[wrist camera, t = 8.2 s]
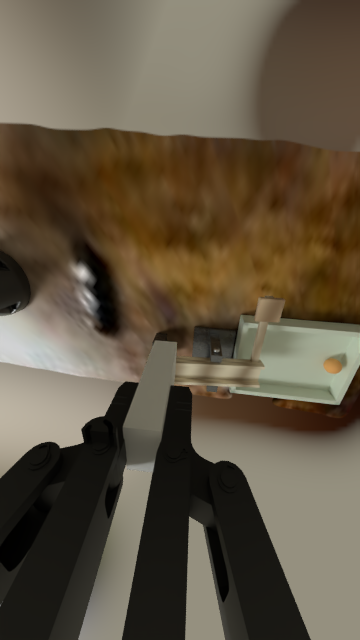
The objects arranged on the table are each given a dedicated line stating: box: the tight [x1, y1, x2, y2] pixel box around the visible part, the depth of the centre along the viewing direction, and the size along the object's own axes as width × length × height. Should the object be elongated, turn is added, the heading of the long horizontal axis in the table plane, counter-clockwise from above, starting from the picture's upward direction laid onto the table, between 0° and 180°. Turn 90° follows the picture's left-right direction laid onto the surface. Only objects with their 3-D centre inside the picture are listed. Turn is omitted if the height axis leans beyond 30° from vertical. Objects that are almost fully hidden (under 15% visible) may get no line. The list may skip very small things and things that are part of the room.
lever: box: [146, 296, 285, 388], centre depth 37 cm, size 22×18×3 cm
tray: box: [229, 315, 360, 405], centre depth 44 cm, size 24×18×4 cm
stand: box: [153, 327, 236, 392], centre depth 43 cm, size 18×10×9 cm, turn 87°
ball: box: [323, 358, 342, 374], centre depth 43 cm, size 3×3×3 cm
